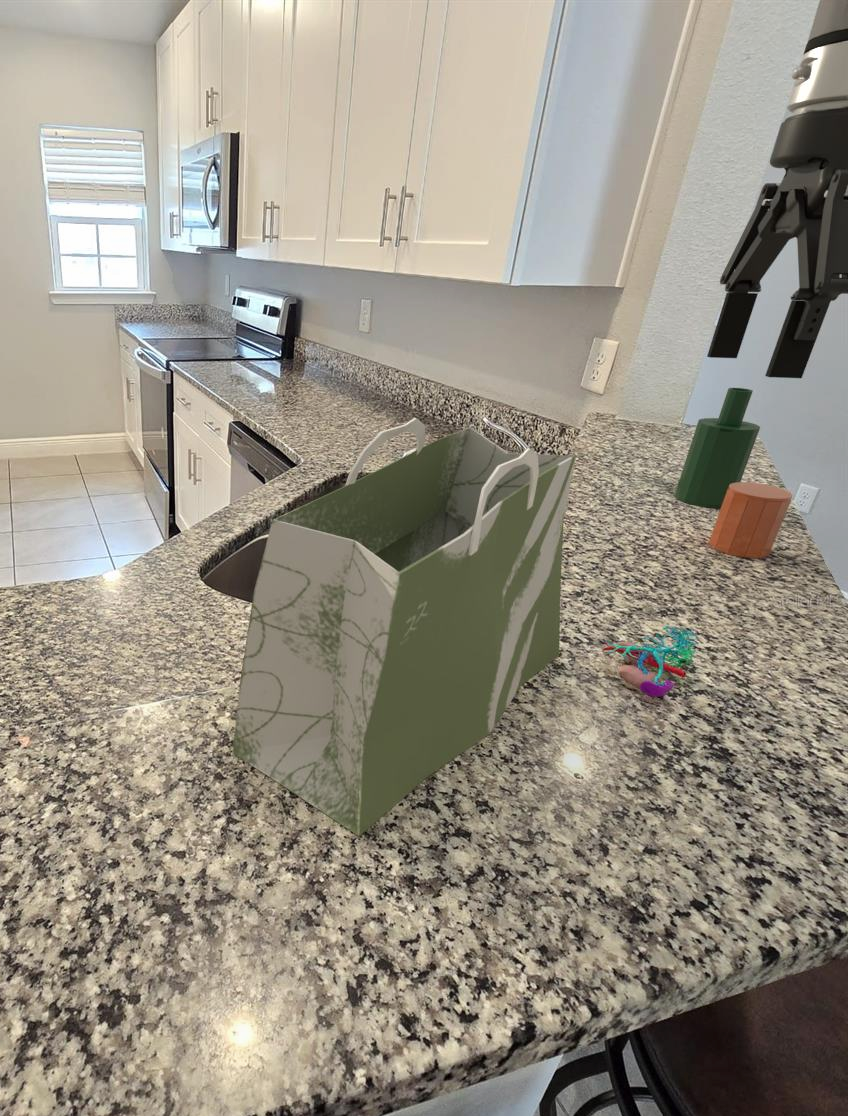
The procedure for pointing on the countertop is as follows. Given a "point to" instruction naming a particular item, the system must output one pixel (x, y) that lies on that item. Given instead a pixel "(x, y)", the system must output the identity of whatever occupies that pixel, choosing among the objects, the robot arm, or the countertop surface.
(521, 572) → the grocery bag
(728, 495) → the orange octagonal cylinder
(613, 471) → the countertop surface
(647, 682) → the anatomy model
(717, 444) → the bottle
